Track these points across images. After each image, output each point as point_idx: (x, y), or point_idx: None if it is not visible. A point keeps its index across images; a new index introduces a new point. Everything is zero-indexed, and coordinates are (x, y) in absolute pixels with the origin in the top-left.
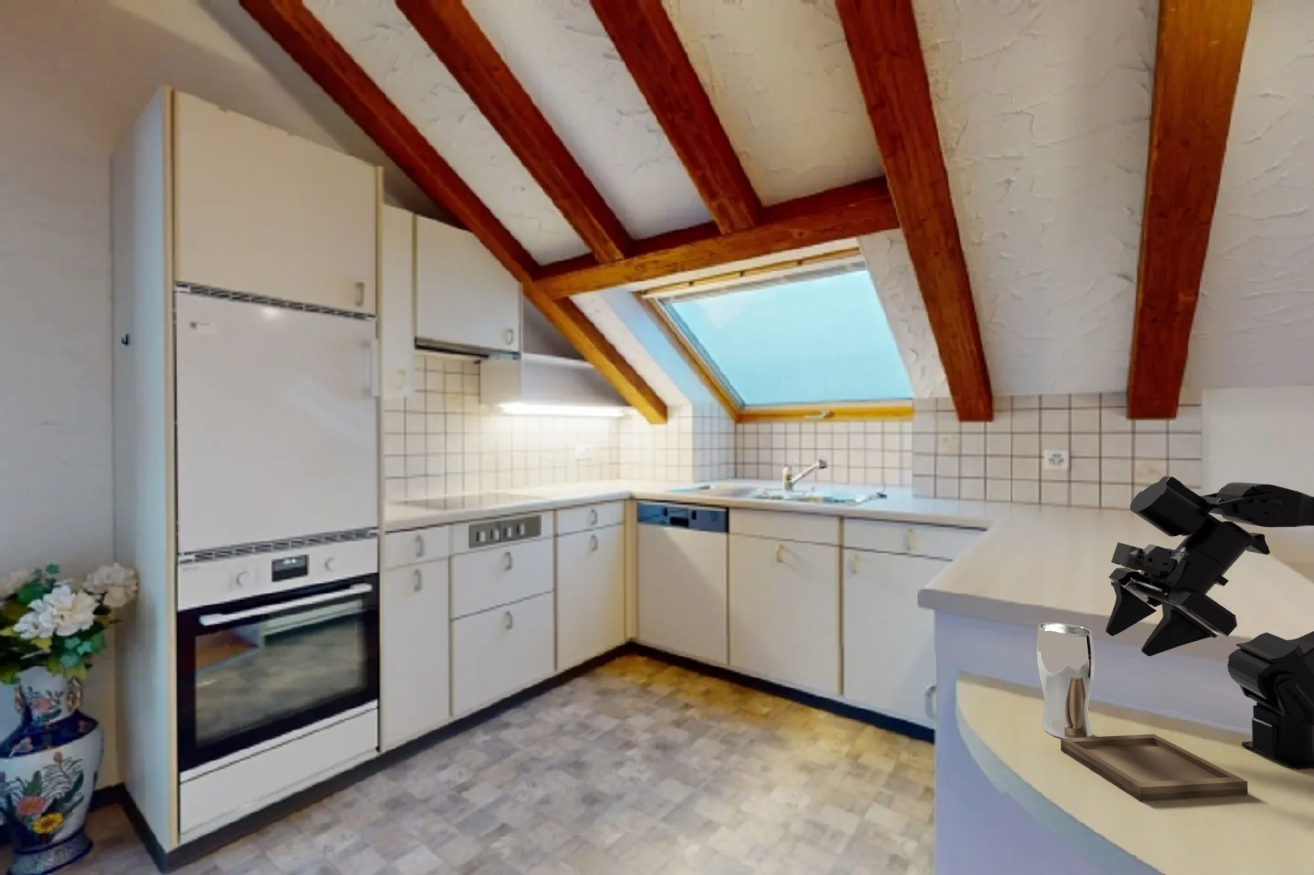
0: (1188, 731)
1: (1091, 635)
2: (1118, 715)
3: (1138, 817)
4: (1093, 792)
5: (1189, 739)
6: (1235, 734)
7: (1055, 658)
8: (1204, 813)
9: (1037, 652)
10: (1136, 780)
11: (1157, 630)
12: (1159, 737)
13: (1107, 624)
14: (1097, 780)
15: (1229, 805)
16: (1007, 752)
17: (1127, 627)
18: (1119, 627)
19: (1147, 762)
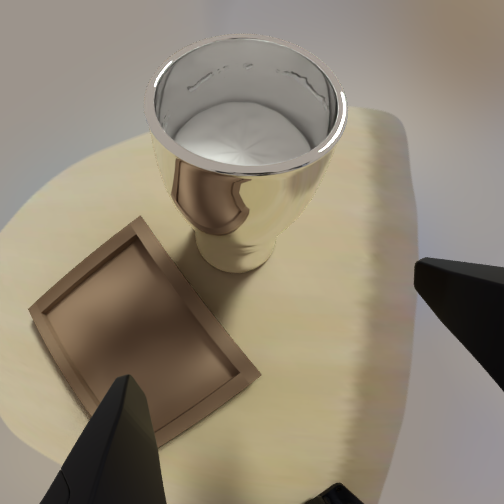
0: (365, 422)
1: (213, 175)
2: (379, 323)
3: (8, 299)
4: (38, 258)
5: (328, 424)
6: (386, 472)
7: (169, 127)
8: (48, 381)
9: (228, 95)
10: (44, 309)
11: (73, 473)
12: (248, 382)
13: (450, 260)
14: (69, 266)
15: (87, 421)
16: (107, 158)
17: (461, 340)
18: (448, 309)
19: (140, 345)
